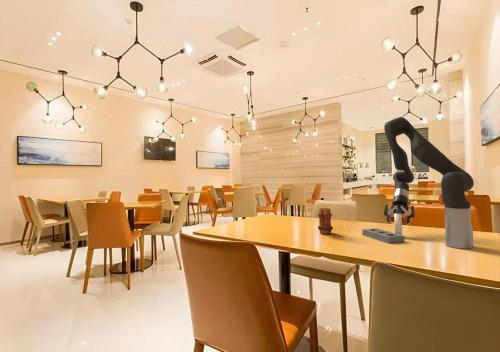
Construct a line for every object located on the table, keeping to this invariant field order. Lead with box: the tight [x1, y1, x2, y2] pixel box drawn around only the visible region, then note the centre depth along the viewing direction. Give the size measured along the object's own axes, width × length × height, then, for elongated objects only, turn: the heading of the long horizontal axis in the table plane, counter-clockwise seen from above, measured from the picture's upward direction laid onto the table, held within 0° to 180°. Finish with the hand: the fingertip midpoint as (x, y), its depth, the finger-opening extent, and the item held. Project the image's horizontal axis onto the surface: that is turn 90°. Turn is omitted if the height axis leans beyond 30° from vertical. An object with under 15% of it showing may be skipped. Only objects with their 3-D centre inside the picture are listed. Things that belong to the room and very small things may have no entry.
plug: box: [393, 208, 403, 235], centre depth 142 cm, size 3×3×15 cm
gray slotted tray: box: [361, 227, 406, 244], centre depth 140 cm, size 9×20×3 cm, turn 13°
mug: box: [317, 207, 334, 235], centre depth 152 cm, size 15×8×15 cm, turn 172°
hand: (397, 222), depth 141 cm, fingers open, 8 cm apart
